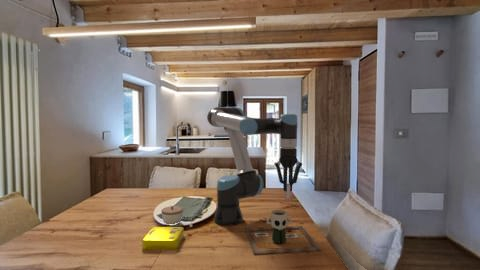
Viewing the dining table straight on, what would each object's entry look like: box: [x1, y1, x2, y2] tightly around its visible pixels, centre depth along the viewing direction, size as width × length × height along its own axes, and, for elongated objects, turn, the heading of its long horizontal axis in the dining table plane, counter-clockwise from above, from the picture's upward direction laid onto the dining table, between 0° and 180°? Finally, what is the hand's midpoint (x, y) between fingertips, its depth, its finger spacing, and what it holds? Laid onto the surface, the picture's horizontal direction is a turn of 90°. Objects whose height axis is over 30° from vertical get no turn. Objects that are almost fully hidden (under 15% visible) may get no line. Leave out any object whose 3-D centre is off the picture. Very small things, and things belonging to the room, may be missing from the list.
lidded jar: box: [161, 205, 184, 225], centre depth 143 cm, size 11×11×9 cm
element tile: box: [141, 226, 185, 251], centre depth 123 cm, size 15×15×5 cm
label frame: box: [245, 225, 323, 256], centre depth 124 cm, size 28×25×1 cm
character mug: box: [266, 209, 292, 244], centre depth 122 cm, size 11×7×13 cm, turn 96°
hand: (287, 198), depth 129 cm, fingers closed
